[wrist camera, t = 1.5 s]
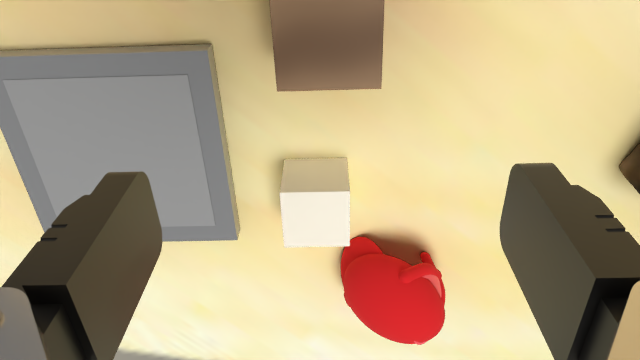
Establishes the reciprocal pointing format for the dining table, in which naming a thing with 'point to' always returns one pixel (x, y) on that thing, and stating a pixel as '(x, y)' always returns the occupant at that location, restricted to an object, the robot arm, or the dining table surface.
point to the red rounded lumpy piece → (393, 293)
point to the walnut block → (327, 44)
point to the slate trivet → (122, 130)
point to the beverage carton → (632, 168)
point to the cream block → (315, 202)
